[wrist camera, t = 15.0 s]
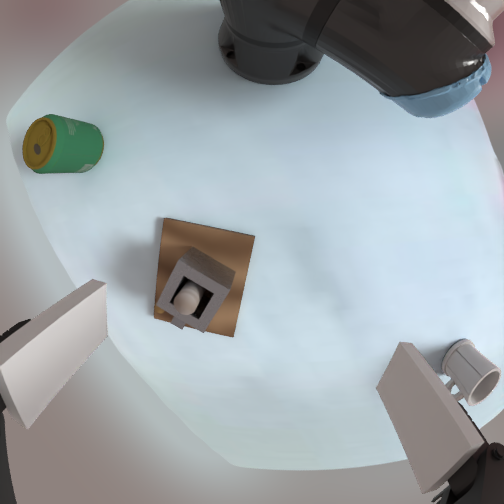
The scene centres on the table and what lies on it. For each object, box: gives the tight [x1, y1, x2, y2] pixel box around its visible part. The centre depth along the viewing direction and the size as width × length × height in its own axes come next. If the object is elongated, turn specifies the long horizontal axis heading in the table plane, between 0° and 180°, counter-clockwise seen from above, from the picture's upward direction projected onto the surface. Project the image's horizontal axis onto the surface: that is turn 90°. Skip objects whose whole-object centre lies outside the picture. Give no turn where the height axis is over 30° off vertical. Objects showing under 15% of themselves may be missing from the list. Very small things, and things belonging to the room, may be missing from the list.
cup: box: [442, 339, 501, 406], centre depth 38 cm, size 10×9×12 cm
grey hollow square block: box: [156, 247, 236, 333], centre depth 37 cm, size 11×7×7 cm, turn 149°
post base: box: [154, 218, 255, 337], centre depth 37 cm, size 16×13×9 cm
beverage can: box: [23, 114, 104, 174], centre depth 31 cm, size 8×8×12 cm
